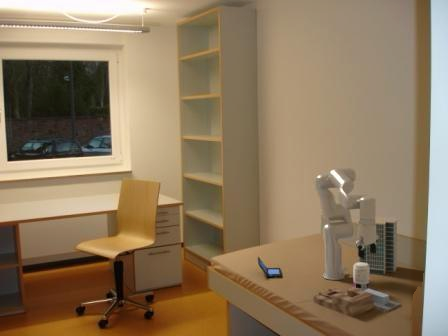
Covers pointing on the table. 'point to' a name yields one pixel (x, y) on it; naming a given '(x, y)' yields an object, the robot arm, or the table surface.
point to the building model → (383, 247)
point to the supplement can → (361, 276)
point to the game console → (269, 270)
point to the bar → (379, 297)
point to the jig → (346, 301)
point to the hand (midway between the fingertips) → (367, 255)
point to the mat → (387, 305)
